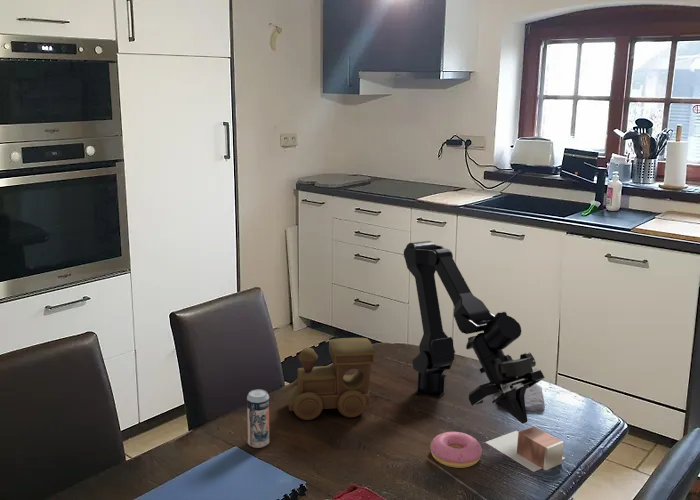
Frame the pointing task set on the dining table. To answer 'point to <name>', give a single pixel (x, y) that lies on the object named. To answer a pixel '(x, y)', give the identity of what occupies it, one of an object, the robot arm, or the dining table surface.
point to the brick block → (540, 448)
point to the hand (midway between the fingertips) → (525, 422)
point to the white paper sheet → (512, 449)
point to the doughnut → (456, 449)
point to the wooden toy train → (333, 380)
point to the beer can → (258, 418)
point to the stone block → (534, 398)
